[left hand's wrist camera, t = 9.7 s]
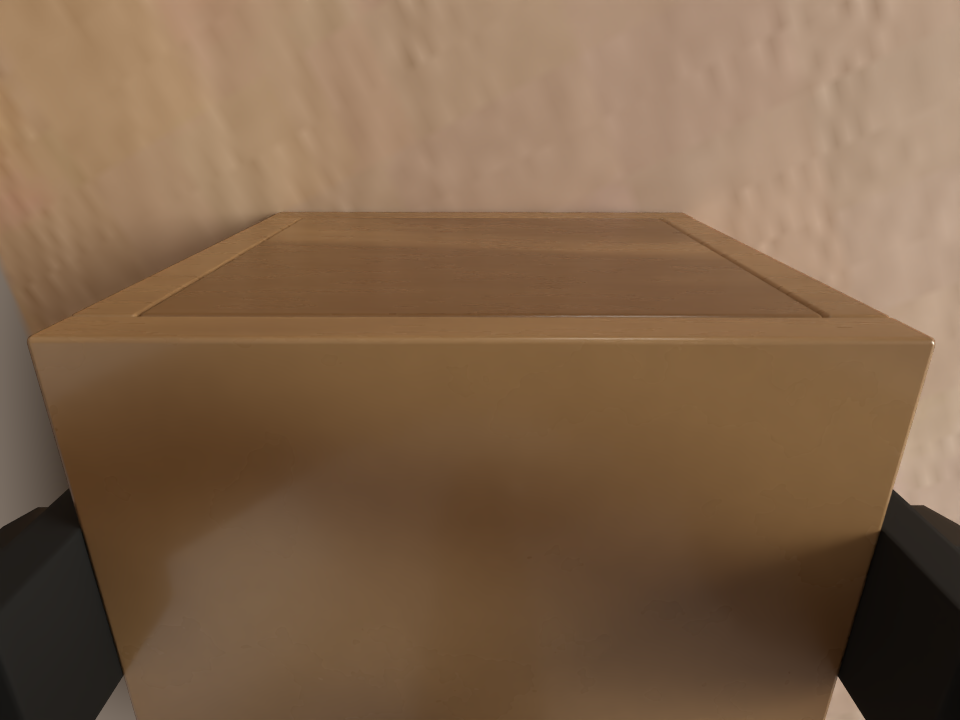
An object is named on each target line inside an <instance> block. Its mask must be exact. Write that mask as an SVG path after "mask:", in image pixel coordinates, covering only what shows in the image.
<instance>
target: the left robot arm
mask: <svg viewBox="0 0 960 720" xmlns="http://www.w3.org/2000/svg"><path fill="white" fill-rule="evenodd" d="M122 677H123V671H122V668H121V665H120V661H119V658H118V654H117V651H116V647H115V644H114V640H113V637H112V634H111V630H110V627H109V623H108V620H107V616H106V613H105V609H104V606H103V603H102V599H101V596H100V592H99V589H98V585H97V582H96V579H95V575H94V572H93V568H92V565H91V561H90V558H89V554H88V551H87V548H86V544H85V541H84V537H83V534H82V530H81V527H80V523H79V520H78V517H77V513H76V510H75V506H74V503H73V499H72V496H71V493H70V489H68V490H67V491H65V492H64V493H63V494H62V495H61V496H60V497H59V498H58V499H57V500H56V501H55V502H53V503H52V504H51V505H50V506H49V507H38V508H36V509H34V510H32V511H31V512H29V513H27V514H25V515H23V516H21V517H20V518H18V519H16V520H14V521H12V522H11V523H9V524H7V525H5V526H3V527H2V528H1V529H0V720H95V719H96V717H97V716H98V714H99V713H100V711H101V710H102V708H103V707H104V705H105V703H106V702H107V700H108V699H109V697H110V696H111V694H112V692H113V691H114V689H115V688H116V686H117V685H118V683H119V681H120V680H121V678H122ZM838 677H839V679H840V680H841V682H842V683H843V685H844V687H845V688H846V690H847V691H848V693H849V694H850V696H851V698H852V699H853V701H854V702H855V704H856V705H857V707H858V709H859V710H860V712H861V713H862V715H863V716H864V718H865V720H960V525H958V524H957V523H955V522H953V521H951V520H949V519H947V518H946V517H944V516H942V515H940V514H938V513H937V512H935V511H933V510H931V509H929V508H928V507H926V506H924V505H910V504H909V503H907V502H906V501H905V500H904V499H903V498H902V497H901V496H900V495H899V494H898V493H896V492H895V491H894V490H892V493H891V497H890V500H889V504H888V507H887V510H886V514H885V517H884V521H883V524H882V527H881V531H880V534H879V538H878V541H877V544H876V548H875V551H874V555H873V558H872V561H871V565H870V568H869V571H868V575H867V578H866V582H865V585H864V588H863V592H862V595H861V599H860V602H859V605H858V609H857V612H856V616H855V619H854V622H853V626H852V629H851V633H850V636H849V639H848V643H847V646H846V650H845V653H844V656H843V660H842V663H841V667H840V670H839V673H838Z"/></svg>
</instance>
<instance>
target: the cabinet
mask: <svg viewBox="0 0 960 720" xmlns="http://www.w3.org/2000/svg"><path fill="white" fill-rule="evenodd" d="M27 345H28V348H29V351H30V355H31V358H32V362H33V365H34V369H35V372H36V376H37V379H38V382H39V386H40V389H41V393H42V396H43V400H44V403H45V406H46V410H47V413H48V417H49V420H50V424H51V427H52V431H53V434H54V437H55V441H56V444H57V448H58V451H59V454H60V458H61V462H62V465H63V468H64V472H65V475H66V479H67V482H68V486H69V489H70V493H71V496H72V499H73V503H74V506H75V510H76V513H77V517H78V520H79V523H80V527H81V530H82V534H83V537H84V541H85V544H86V548H87V551H88V554H89V558H90V561H91V565H92V568H93V572H94V575H95V579H96V582H97V585H98V589H99V592H100V596H101V599H102V603H103V606H104V609H105V613H106V616H107V620H108V623H109V627H110V630H111V634H112V637H113V640H114V644H115V647H116V651H117V654H118V658H119V661H120V665H121V668H122V671H123V675H124V678H125V682H126V685H127V689H128V692H129V695H130V699H131V702H132V706H133V709H134V713H135V716H136V720H825V718H826V714H827V711H828V707H829V704H830V701H831V697H832V694H833V690H834V687H835V684H836V680H837V677H838V673H839V670H840V667H841V663H842V660H843V656H844V653H845V650H846V646H847V643H848V639H849V636H850V633H851V629H852V626H853V622H854V619H855V616H856V612H857V609H858V605H859V602H860V599H861V595H862V592H863V588H864V585H865V582H866V578H867V575H868V571H869V568H870V565H871V561H872V558H873V555H874V551H875V548H876V544H877V541H878V538H879V534H880V531H881V527H882V524H883V521H884V517H885V514H886V510H887V507H888V504H889V500H890V497H891V493H892V490H893V487H894V483H895V480H896V476H897V473H898V470H899V466H900V463H901V459H902V456H903V453H904V449H905V446H906V442H907V439H908V436H909V432H910V429H911V425H912V422H913V419H914V415H915V412H916V408H917V405H918V402H919V398H920V395H921V392H922V388H923V385H924V381H925V378H926V375H927V371H928V368H929V364H930V361H931V358H932V354H933V351H934V347H935V340H934V339H933V338H932V337H930V336H928V335H926V334H924V333H922V332H920V331H918V330H916V329H914V328H912V327H910V326H908V325H906V324H904V323H902V322H900V321H898V320H896V319H893V318H889V316H888V315H886V314H884V313H882V312H880V311H878V310H876V309H874V308H872V307H870V306H868V305H866V304H864V303H862V302H860V301H858V300H856V299H854V298H852V297H850V296H848V295H846V294H844V293H842V292H840V291H838V290H836V289H834V288H832V287H830V286H828V285H826V284H823V283H821V282H819V281H817V280H815V279H813V278H811V277H809V276H807V275H805V274H803V273H801V272H799V271H797V270H795V269H793V268H791V267H789V266H787V265H785V264H783V263H781V262H779V261H777V260H775V259H773V258H771V257H769V256H767V255H765V254H763V253H761V252H759V251H757V250H755V249H753V248H751V247H749V246H747V245H745V244H743V243H741V242H739V241H737V240H735V239H733V238H731V237H729V236H727V235H725V234H723V233H721V232H719V231H717V230H715V229H713V228H711V227H709V226H707V225H705V224H703V223H701V222H699V221H697V220H695V219H693V218H692V217H690V216H688V215H686V214H684V213H552V212H280V213H277V214H275V215H273V216H271V217H270V218H268V219H266V220H264V221H262V222H260V223H257V224H255V225H253V226H251V227H249V228H247V229H245V230H243V231H241V232H239V233H237V234H235V235H233V236H231V237H229V238H227V239H225V240H223V241H221V242H219V243H217V244H215V245H213V246H211V247H209V248H207V249H205V250H203V251H201V252H199V253H197V254H195V255H193V256H191V257H188V258H186V259H184V260H182V261H180V262H178V263H176V264H174V265H172V266H170V267H168V268H166V269H164V270H162V271H160V272H158V273H156V274H154V275H152V276H150V277H148V278H146V279H144V280H142V281H140V282H138V283H136V284H134V285H132V286H130V287H128V288H126V289H124V290H122V291H119V292H117V293H115V294H113V295H111V296H109V297H107V298H105V299H103V300H101V301H99V302H97V303H95V304H93V305H91V306H89V307H87V308H85V309H83V310H81V311H79V312H77V313H75V314H73V315H72V317H68V318H66V319H64V320H62V321H60V322H58V323H56V324H54V325H52V326H50V327H48V328H46V329H44V330H42V331H40V332H38V333H36V334H34V335H32V336H30V337H29V338H28V339H27Z"/></svg>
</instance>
